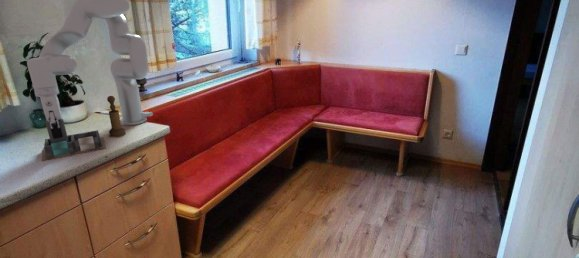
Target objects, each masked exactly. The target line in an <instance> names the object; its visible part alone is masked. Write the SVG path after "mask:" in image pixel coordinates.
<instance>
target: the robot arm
mask: <svg viewBox="0 0 579 258" xmlns="http://www.w3.org/2000/svg"><path fill="white" fill-rule="evenodd" d="M129 10H130V1H129V0H74V1H73V3H72V5H71V7H70V9H69V10H68V14H67V17H66V18H65V20H64V23H63V25H62V26H61V28H60V29H59V30H57V31H56V32H55V33H54V34H53V35H52V36H51V37H50V38H49V39H47V41H46V42H45V43H44V45H43V47H42V49H41V51H40V53H39V56H38V57H33V58H29V59H28V60H27V61H26V64H27V69H28V73H29V76H30V79H31V80H30V81H31V82H32V87H33V91H34V94H35V97H38V98H39V99H40V102H41V107H42V109H43V112H44V117H45V116H46V118H45V119H46V121H48V122H49V121H50V126H51V132H52V136H53V138H54V139H56V138H62V137H63V135H62V131H61V127H60V126H59V122H58V120H62V119H63V111H62V109H61V104H60V101H59V98H58V95H60V89H59V86H58V83H57V79H56V76H60V75H61V76H62V75H63V76H64V75H71V74H73V73H74V72H75V71H76V69H77V67H78V64H77V61H76V59H75V58H73V57H72V56H70V55H67V54H64V52H65V51H66V50H67V49H68V48H70V47H71V46H74V45H77V44H78V43H81V42H82V41H83V40H85V39H86V37H87V35H88V32H89V30H90V27H91V26H92V23H93V21H94V20H104V21H105V23H106V24H107V27H108V28H107V29H108V35H109V41H110V48H111V50H112V52H113V53H114V54H116V55H119V56H129V57H119V58H115V59H114V60H112V62H111V63H110V72H111V75H112V78H113V81H114V83H115V87H116V91H117V99H118V103H119V107H120V108H119V109H120V114H121V117H122V118H120V122H121V126H137V125H141V124H143V123H145V122H147V120H148V118H147V117H152V116H154V113H153V112H152V111H150V112H149V111H145V112H144V111H143V108H142V102H141V97H140V90H139V85H138V82H137V81H136V80H143V79H146V77H147V76H148V73H149V62H148V53H147V46H146V42H145V41H144V38H142V37H141V36H140V35H137V34H133V33H132V34H130V28H129V24H128V20H127V18H126V16H125V14H127V13H128V11H129ZM55 119H57V120H55ZM56 122H57V123H56Z"/></svg>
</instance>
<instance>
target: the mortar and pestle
mask: <svg viewBox="0 0 579 258" xmlns="http://www.w3.org/2000/svg"><path fill="white" fill-rule="evenodd" d="M106 100H107V102H108V103H109V105H110V106H109V109H110V110H109V111H108V115H109V120H110V125H111V126H110V127H111V128H110V129H109V132H108V133H109V136H110V137H112V138H118V137H119V138H121V137H123V136H126V134H127V132H126V129H125V128H124V127H123V126H122V125H121V122H120V120H121V117H120V111H119V110H118V109H116V105H115V100H116V98H115V96H113V95H108V96H107V99H106Z"/></svg>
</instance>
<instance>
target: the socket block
mask: <svg viewBox="0 0 579 258" xmlns="http://www.w3.org/2000/svg"><path fill="white" fill-rule="evenodd" d="M67 137H68V141H69V142H67V141H63V142H57V143H52V144H51V141H50V138H45V139H44V144H43V149H42V154H41V155H42V156H41V161H42V162H46V161H49V160H55V159H59V158H65V157H69V156H74V155H80V154H85V153H90V152H95V151H100V150H101V151H102V150H104V149H105V150H106V149H107V145H106V141H105V139H104V136H100V133H99V130H92V131H85V132H79V133H74V134H69V135H68V134H67Z"/></svg>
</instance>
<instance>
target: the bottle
mask: <svg viewBox="0 0 579 258" xmlns="http://www.w3.org/2000/svg"><path fill="white" fill-rule="evenodd" d="M44 117H45V119H46V116H45V115H44ZM55 120H57V119H55ZM58 122H59V126H60V127H61V131H62V135H63V137H62V138H56V139H54V138H53V136H52V132H51V126H50V121H49V122H48V121H47V120H46V121H45V125H46V129H47V132H48V134H47V135H48V137H49V139H50V141H51V144H52V143H57V142H63V141H67V142H69V141H68V137H67V135H68V133H67V130H66V125H65V121H64V119H63V118H62V120H58ZM56 123H57V122H56Z"/></svg>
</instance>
